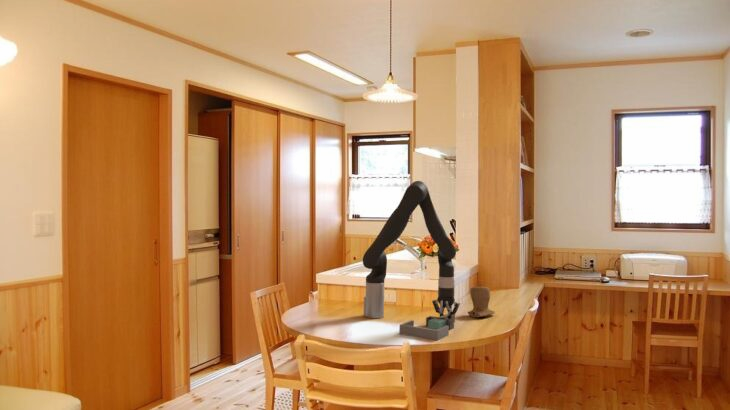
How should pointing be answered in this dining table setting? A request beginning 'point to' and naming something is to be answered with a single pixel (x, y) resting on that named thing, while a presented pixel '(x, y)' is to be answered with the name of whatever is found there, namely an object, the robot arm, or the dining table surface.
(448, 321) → the long-handled tray
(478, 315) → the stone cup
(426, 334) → the box
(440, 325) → the teal square block
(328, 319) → the dining table surface
